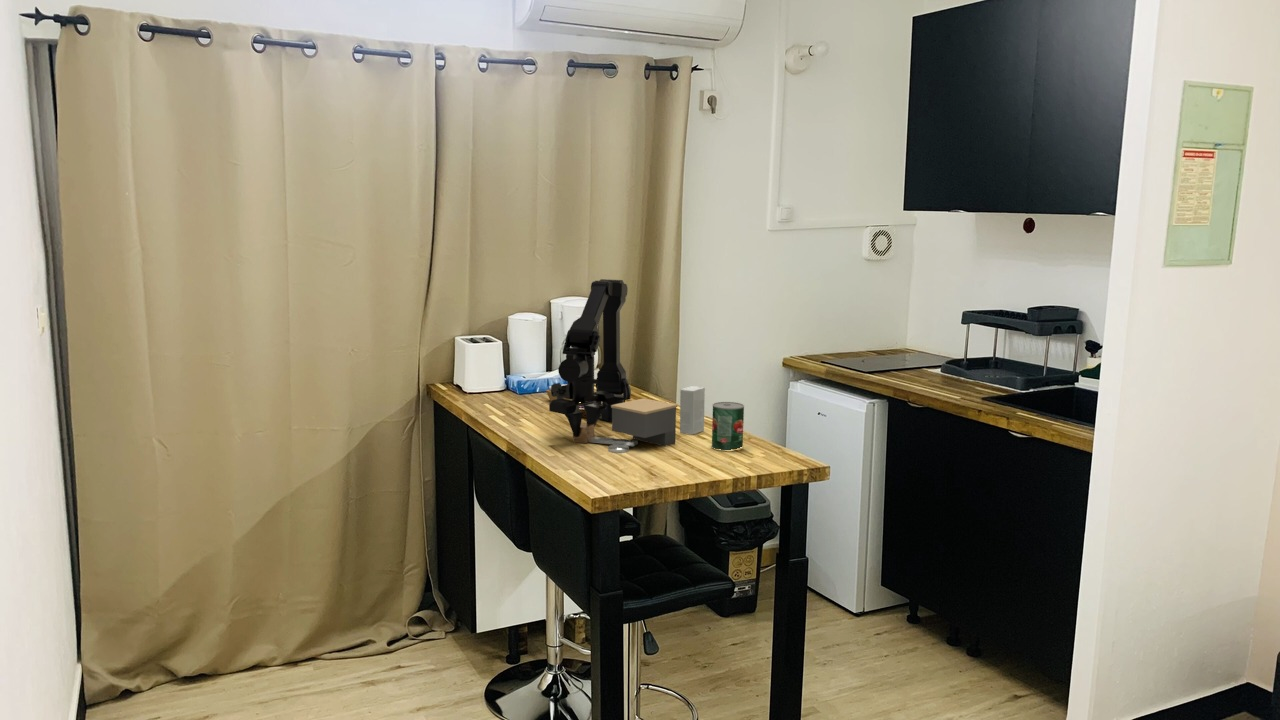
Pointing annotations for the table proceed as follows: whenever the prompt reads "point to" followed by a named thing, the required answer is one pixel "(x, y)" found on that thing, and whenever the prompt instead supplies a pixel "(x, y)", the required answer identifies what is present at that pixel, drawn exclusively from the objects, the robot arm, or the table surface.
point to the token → (618, 448)
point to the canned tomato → (727, 425)
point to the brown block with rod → (589, 436)
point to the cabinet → (646, 420)
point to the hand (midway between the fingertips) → (582, 435)
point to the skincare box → (692, 410)
